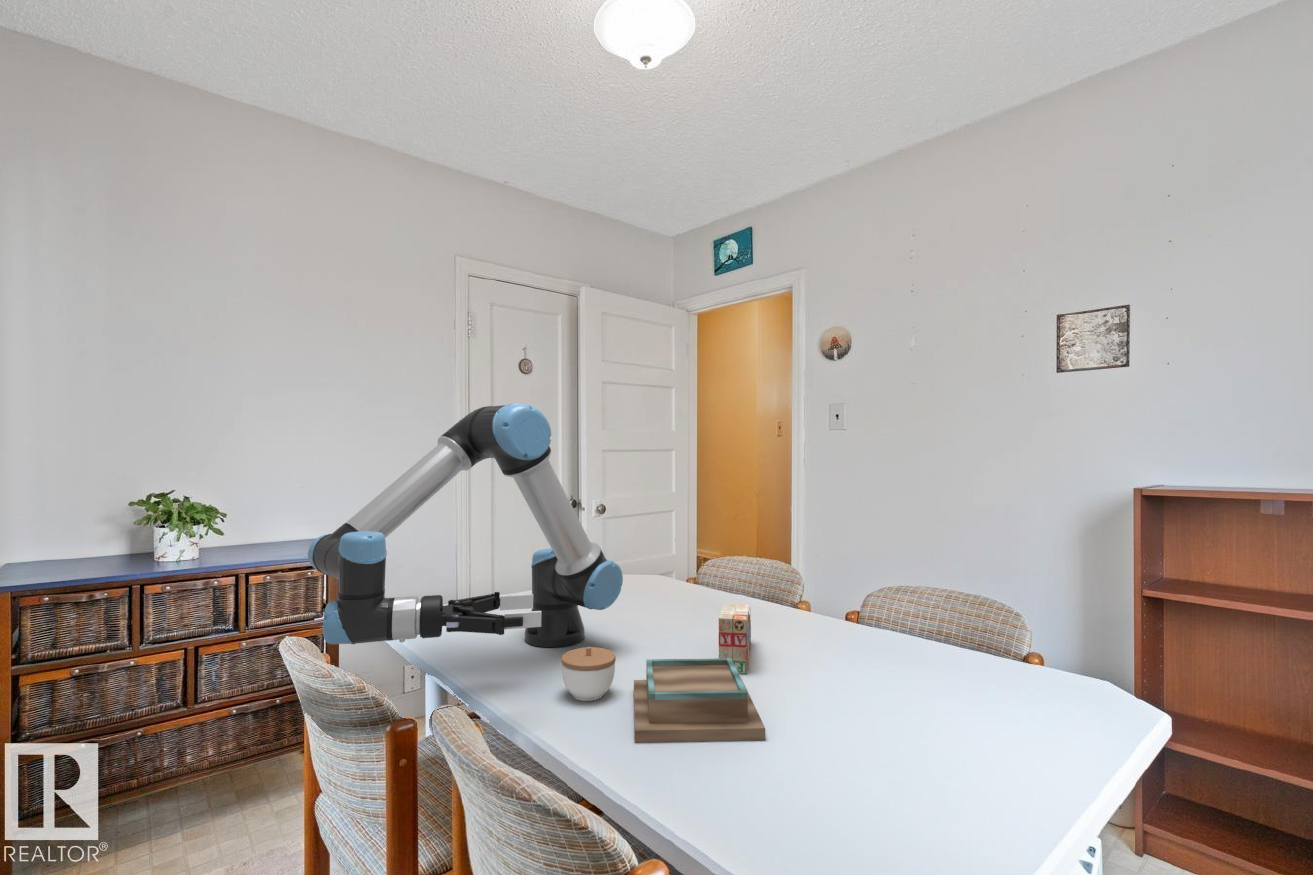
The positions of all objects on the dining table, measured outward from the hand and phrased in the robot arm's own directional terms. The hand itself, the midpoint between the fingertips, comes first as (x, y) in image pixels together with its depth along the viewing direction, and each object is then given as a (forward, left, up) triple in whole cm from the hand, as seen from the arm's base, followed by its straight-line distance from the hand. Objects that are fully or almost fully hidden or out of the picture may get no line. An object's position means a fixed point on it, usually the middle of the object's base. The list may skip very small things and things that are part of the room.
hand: (537, 609), depth 119 cm
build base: (+6, +30, -18) cm, 35 cm away
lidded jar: (-3, +10, -18) cm, 21 cm away
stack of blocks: (-23, +43, -18) cm, 52 cm away
